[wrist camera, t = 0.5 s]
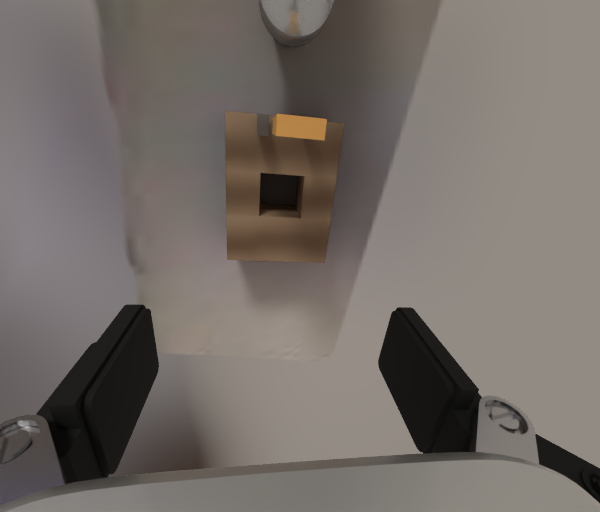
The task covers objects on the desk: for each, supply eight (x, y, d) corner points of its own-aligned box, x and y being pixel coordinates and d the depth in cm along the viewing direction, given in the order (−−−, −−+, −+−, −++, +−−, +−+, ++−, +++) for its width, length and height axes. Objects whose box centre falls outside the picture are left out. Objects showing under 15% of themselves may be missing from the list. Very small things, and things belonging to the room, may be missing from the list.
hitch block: (231, 113, 33) (217, 106, 23) (331, 124, 34) (359, 122, 24) (232, 241, 39) (221, 279, 29) (316, 244, 41) (333, 282, 31)
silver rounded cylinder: (260, -16, 28) (259, -74, 20) (319, -6, 29) (340, -58, 21) (259, 55, 31) (257, 29, 23) (312, 62, 32) (330, 39, 23)
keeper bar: (271, 134, 25) (272, 117, 25) (304, 137, 26) (306, 121, 25) (275, 137, 17) (277, 111, 16) (324, 142, 17) (327, 117, 17)
